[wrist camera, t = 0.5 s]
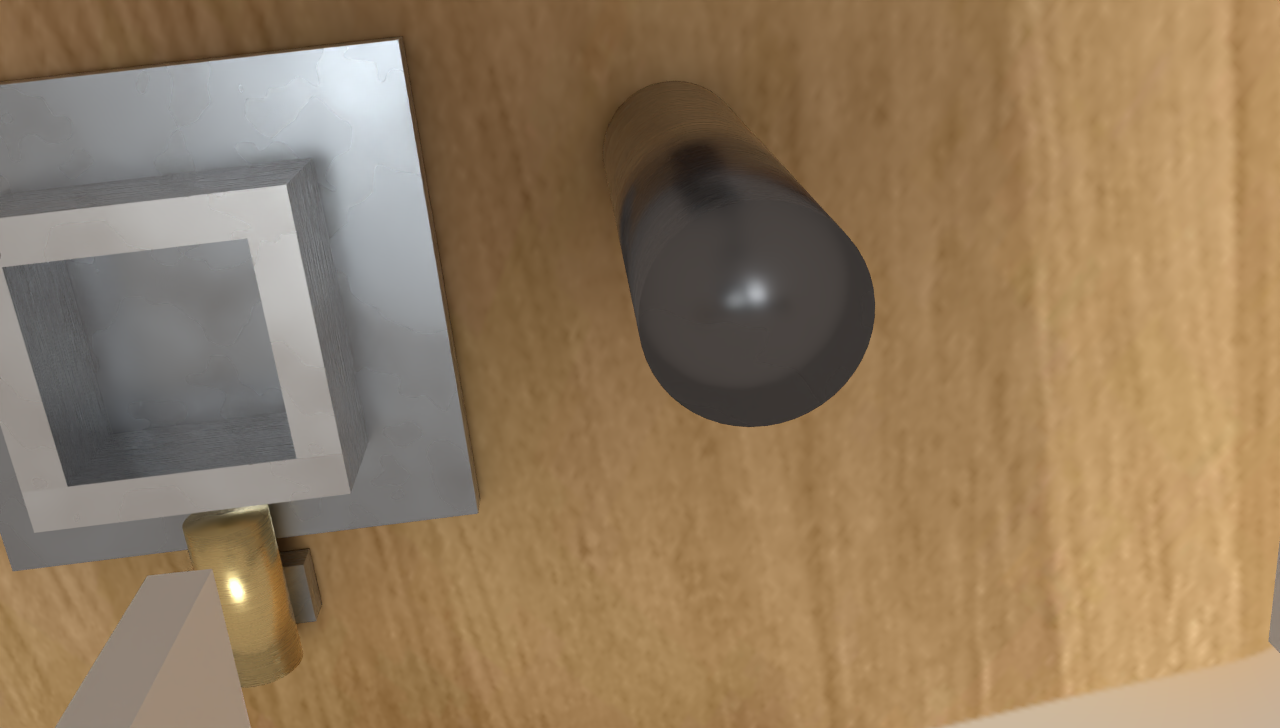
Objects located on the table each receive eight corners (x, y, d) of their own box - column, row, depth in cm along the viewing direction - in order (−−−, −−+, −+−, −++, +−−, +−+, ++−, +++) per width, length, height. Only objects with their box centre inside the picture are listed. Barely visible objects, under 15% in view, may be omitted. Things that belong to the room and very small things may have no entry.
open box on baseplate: (-121, 95, 32) (-222, 122, 28) (402, 36, 33) (380, 53, 29) (57, 651, 39) (-4, 741, 34) (496, 596, 39) (489, 678, 35)
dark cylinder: (595, 89, 34) (625, 215, 20) (738, 73, 34) (870, 186, 20) (611, 229, 35) (650, 440, 21) (748, 213, 35) (879, 411, 21)
